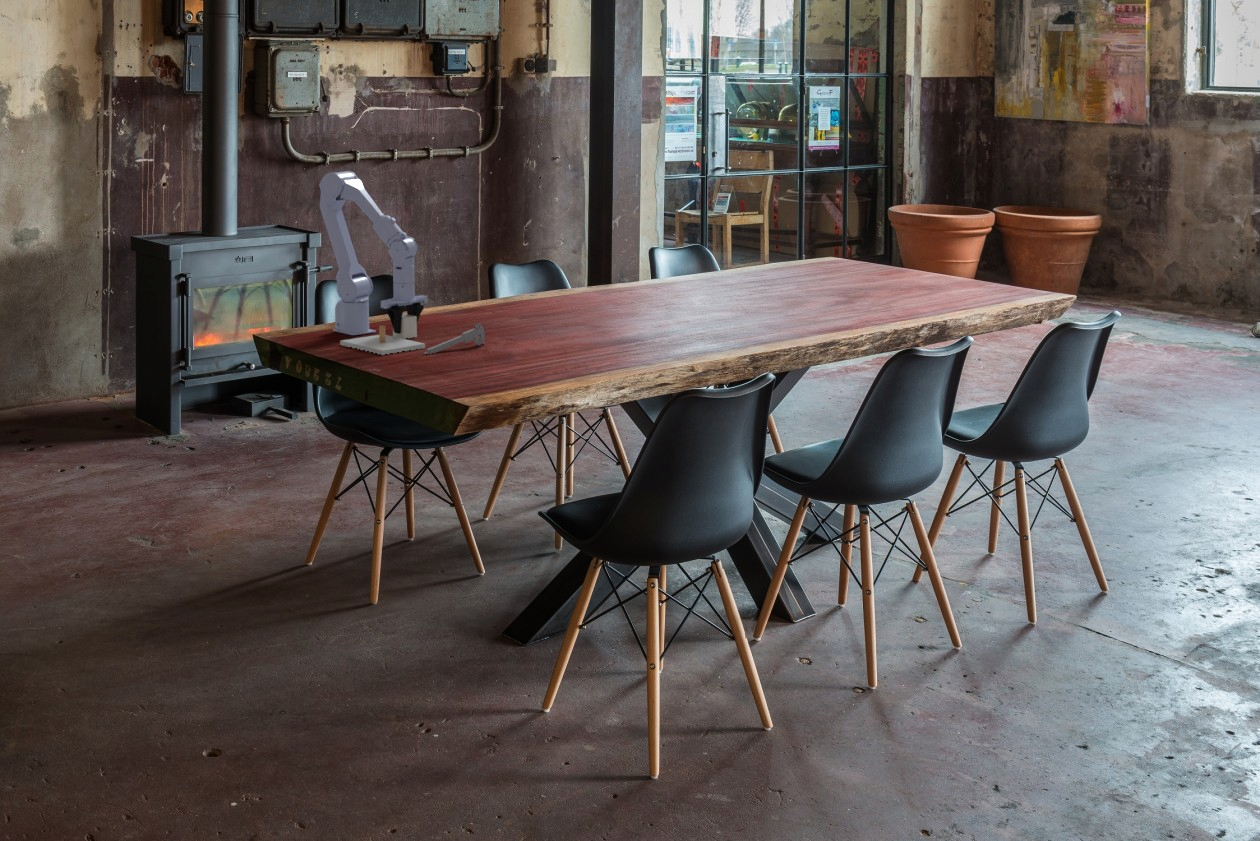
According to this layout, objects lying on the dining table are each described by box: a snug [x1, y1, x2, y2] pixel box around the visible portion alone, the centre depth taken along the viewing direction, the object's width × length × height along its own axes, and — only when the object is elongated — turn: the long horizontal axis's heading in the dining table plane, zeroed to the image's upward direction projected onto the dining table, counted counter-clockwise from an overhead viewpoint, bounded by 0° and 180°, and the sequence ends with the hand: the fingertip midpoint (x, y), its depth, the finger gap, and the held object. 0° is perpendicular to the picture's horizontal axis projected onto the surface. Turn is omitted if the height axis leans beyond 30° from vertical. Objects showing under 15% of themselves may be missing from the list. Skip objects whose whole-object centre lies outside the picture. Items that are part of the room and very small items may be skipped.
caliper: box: [423, 322, 486, 355], centre depth 368 cm, size 20×1×6 cm, turn 138°
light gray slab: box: [339, 325, 426, 356], centre depth 369 cm, size 18×14×6 cm
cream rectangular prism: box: [392, 313, 418, 340], centre depth 383 cm, size 5×5×6 cm
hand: (404, 331), depth 383 cm, fingers closed on cream rectangular prism, 5 cm apart
